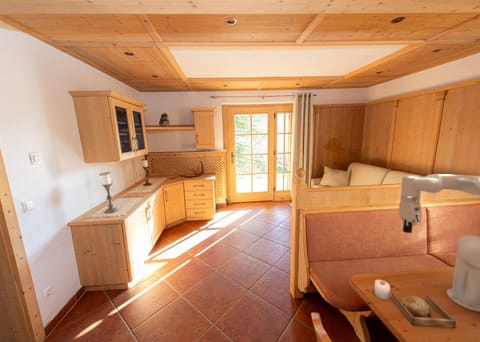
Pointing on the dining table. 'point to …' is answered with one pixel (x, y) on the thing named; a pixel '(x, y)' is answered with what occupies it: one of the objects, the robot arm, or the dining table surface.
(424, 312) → the bread roll
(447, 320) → the open rail frame
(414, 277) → the dining table surface
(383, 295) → the pot
